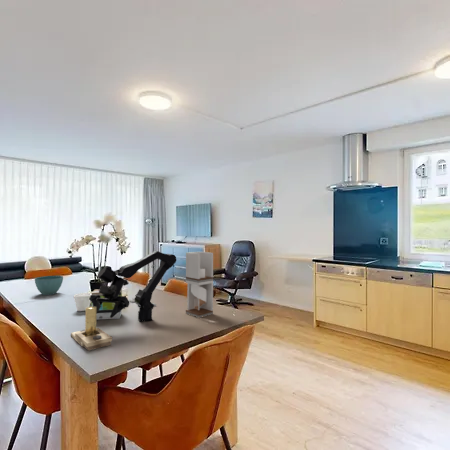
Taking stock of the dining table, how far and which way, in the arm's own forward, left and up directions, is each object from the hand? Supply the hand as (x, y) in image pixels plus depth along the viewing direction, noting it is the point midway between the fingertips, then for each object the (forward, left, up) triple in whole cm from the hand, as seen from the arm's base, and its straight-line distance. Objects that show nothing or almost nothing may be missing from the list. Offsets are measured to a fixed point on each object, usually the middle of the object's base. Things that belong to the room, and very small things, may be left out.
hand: (101, 316), depth 138 cm
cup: (+10, -48, -8) cm, 50 cm away
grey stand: (-52, -15, -8) cm, 54 cm away
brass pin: (+4, +6, -8) cm, 11 cm away
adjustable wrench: (-24, -52, -9) cm, 58 cm away
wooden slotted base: (+4, +6, -8) cm, 11 cm away
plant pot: (+36, -106, -8) cm, 112 cm away
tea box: (-3, -28, -8) cm, 29 cm away
